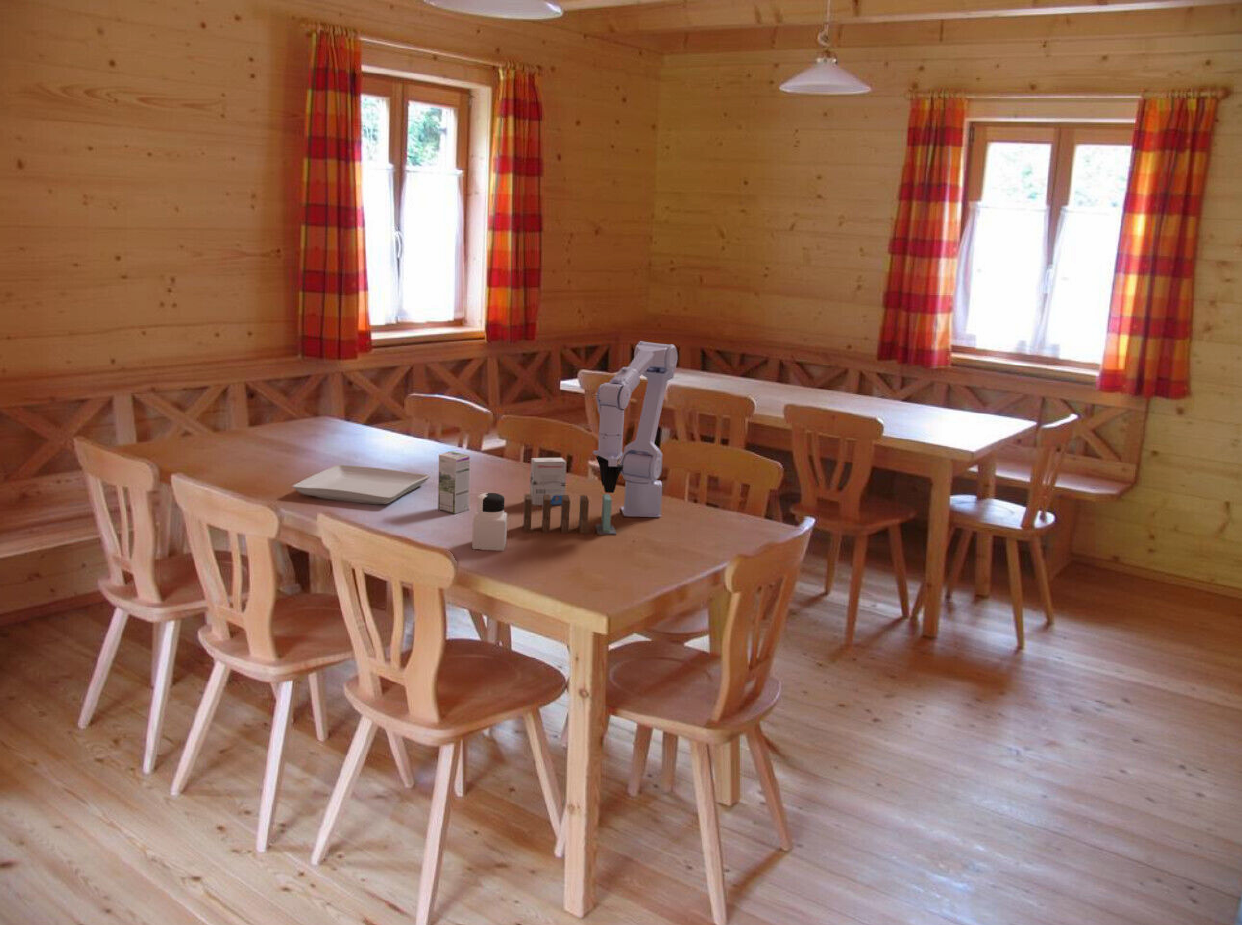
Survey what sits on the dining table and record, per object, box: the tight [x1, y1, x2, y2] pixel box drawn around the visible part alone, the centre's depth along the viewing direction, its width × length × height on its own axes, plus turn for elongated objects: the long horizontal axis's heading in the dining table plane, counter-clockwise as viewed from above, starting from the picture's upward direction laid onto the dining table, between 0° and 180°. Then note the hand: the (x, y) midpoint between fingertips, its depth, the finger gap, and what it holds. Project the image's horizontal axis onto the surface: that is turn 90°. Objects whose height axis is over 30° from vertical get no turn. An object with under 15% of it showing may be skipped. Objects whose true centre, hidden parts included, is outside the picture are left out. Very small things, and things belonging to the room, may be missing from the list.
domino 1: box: [522, 493, 533, 533], centre depth 262 cm, size 2×5×8 cm, turn 7°
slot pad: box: [594, 524, 617, 536], centre depth 265 cm, size 4×7×1 cm, turn 7°
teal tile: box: [600, 493, 612, 532], centre depth 264 cm, size 2×5×8 cm, turn 7°
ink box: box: [529, 457, 567, 506], centre depth 286 cm, size 9×5×12 cm, turn 105°
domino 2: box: [541, 494, 552, 533], centre depth 263 cm, size 2×5×8 cm, turn 7°
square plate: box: [291, 464, 431, 505], centre depth 287 cm, size 27×27×4 cm
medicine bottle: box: [471, 492, 508, 552], centre depth 247 cm, size 7×7×12 cm
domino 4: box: [578, 495, 590, 534], centre depth 264 cm, size 2×5×8 cm, turn 7°
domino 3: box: [560, 494, 571, 534], centre depth 263 cm, size 2×5×8 cm, turn 7°
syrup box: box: [437, 451, 471, 514], centre depth 274 cm, size 6×6×14 cm
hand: (607, 488), depth 263 cm, fingers open, 6 cm apart
